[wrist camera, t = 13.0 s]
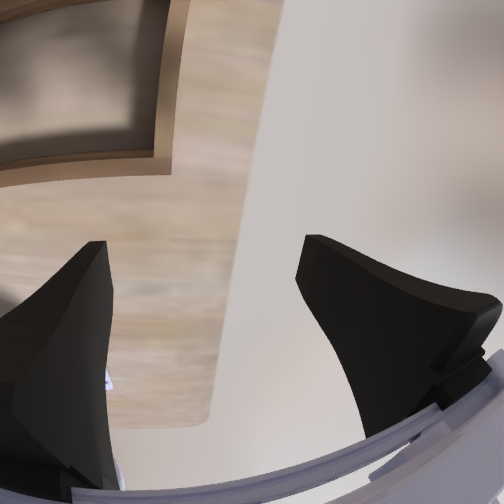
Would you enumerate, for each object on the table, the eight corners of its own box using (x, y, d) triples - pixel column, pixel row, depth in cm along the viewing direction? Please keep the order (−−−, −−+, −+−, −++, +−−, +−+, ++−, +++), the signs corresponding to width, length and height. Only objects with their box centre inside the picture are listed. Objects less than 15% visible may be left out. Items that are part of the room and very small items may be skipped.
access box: (169, 164, 17) (171, 175, 15) (-34, 183, 12) (-52, 196, 10) (191, -14, 12) (196, -28, 10) (-30, 24, 7) (-48, 21, 4)
